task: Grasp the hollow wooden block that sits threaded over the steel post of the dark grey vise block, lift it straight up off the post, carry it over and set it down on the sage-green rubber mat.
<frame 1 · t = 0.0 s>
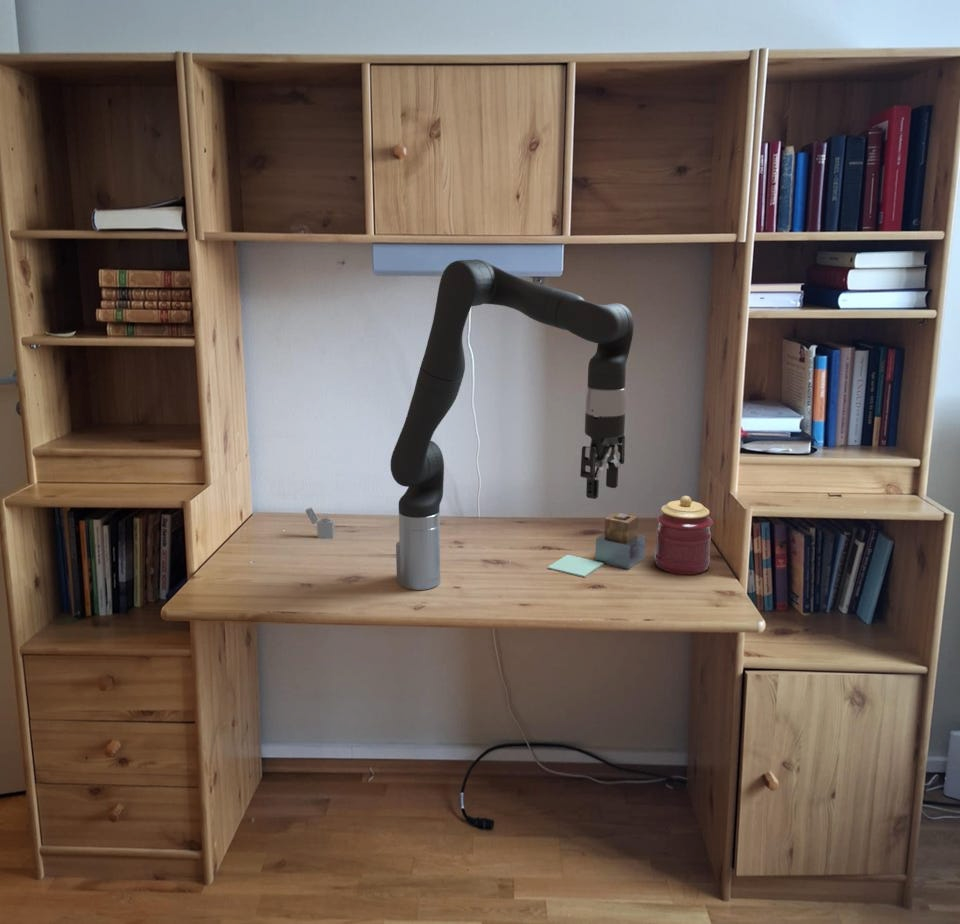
hand: (602, 492, 170), 29 cm above the table, fingers open, 8 cm apart
vise block: (619, 559, 216), on the table
mat: (575, 566, 212), on the table
lighter: (320, 537, 232), on the table
canister: (681, 566, 212), on the table
hollow wooden block: (621, 536, 214), point 6 cm above the table, touching vise block
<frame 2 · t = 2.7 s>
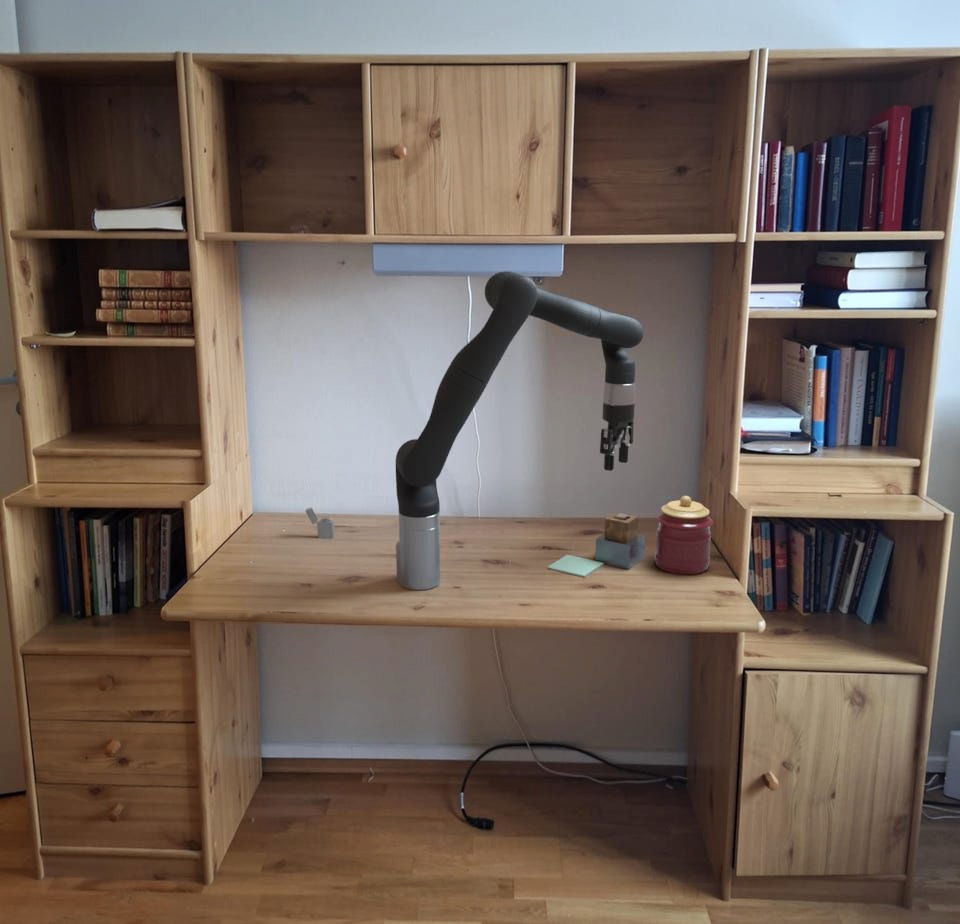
hand: (616, 466, 214), 23 cm above the table, fingers open, 8 cm apart
nothing on the table moved.
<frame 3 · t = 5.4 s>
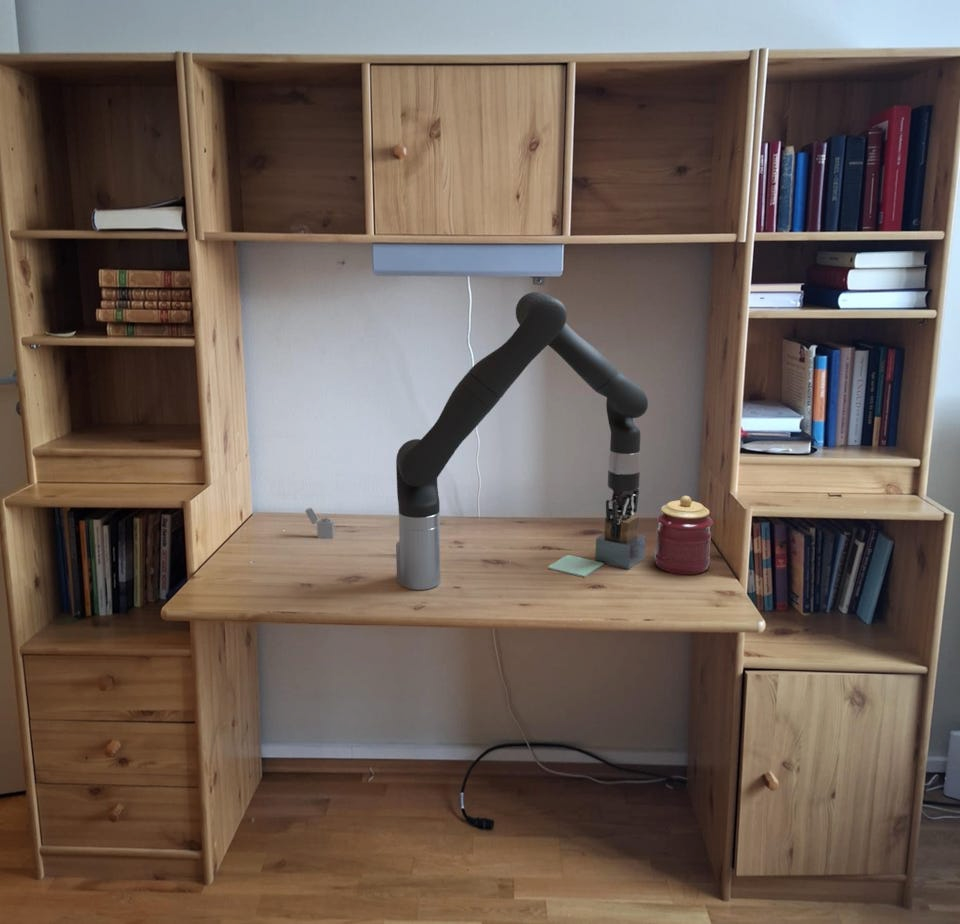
hand: (621, 534, 214), 7 cm above the table, fingers closed on hollow wooden block, 6 cm apart
hollow wooden block: (621, 536, 214), point 6 cm above the table, touching gripper, vise block
everything else where it was.
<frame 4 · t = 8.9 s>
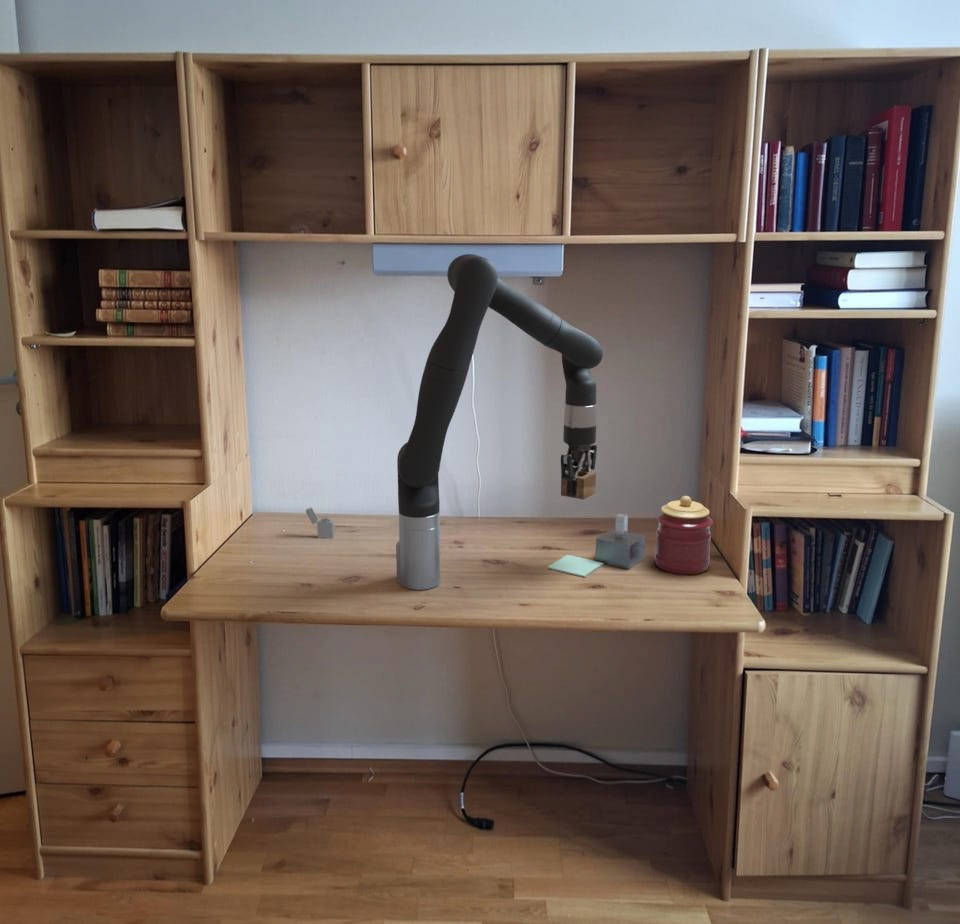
hand: (577, 492, 207), 19 cm above the table, fingers closed on hollow wooden block, 6 cm apart
hollow wooden block: (578, 494, 207), point 18 cm above the table, touching gripper
everything else where it was.
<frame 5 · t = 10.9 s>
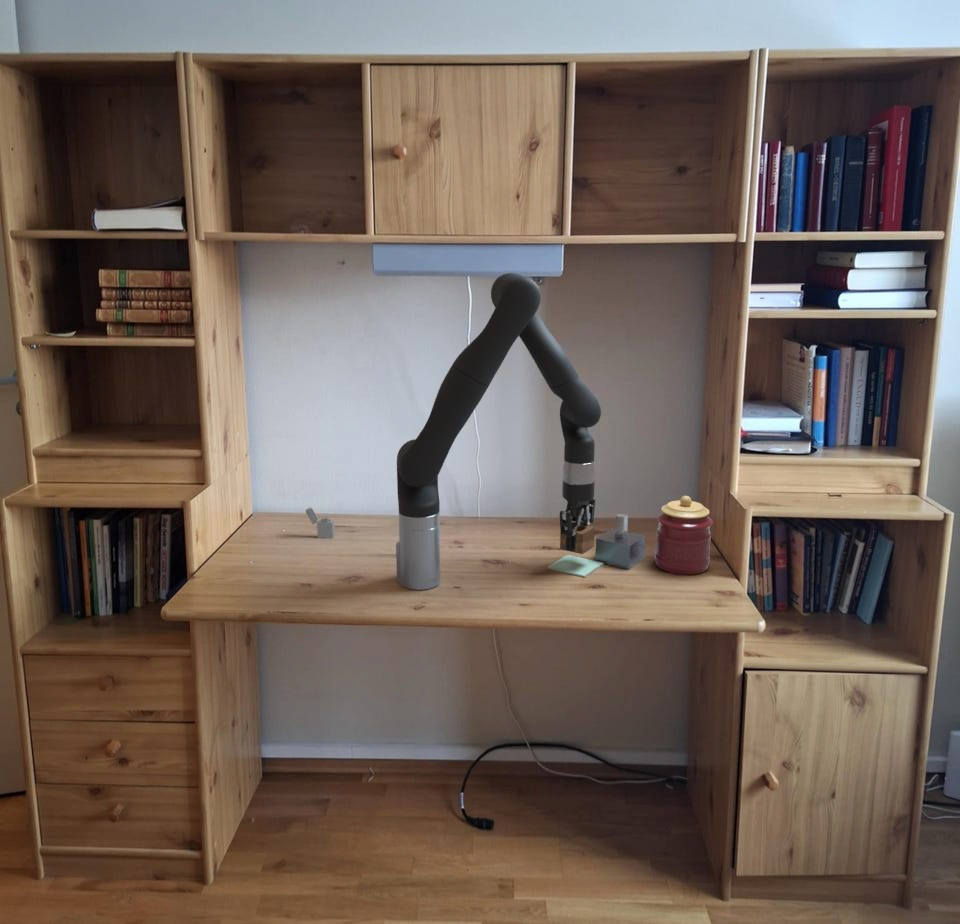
hand: (576, 545, 210), 5 cm above the table, fingers closed on hollow wooden block, 6 cm apart
hollow wooden block: (577, 548, 210), point 5 cm above the table, touching gripper
everything else where it was.
when the fingers open (3 cm above the table, at t = 12.6 s): hollow wooden block drops 2 cm, resting on mat.
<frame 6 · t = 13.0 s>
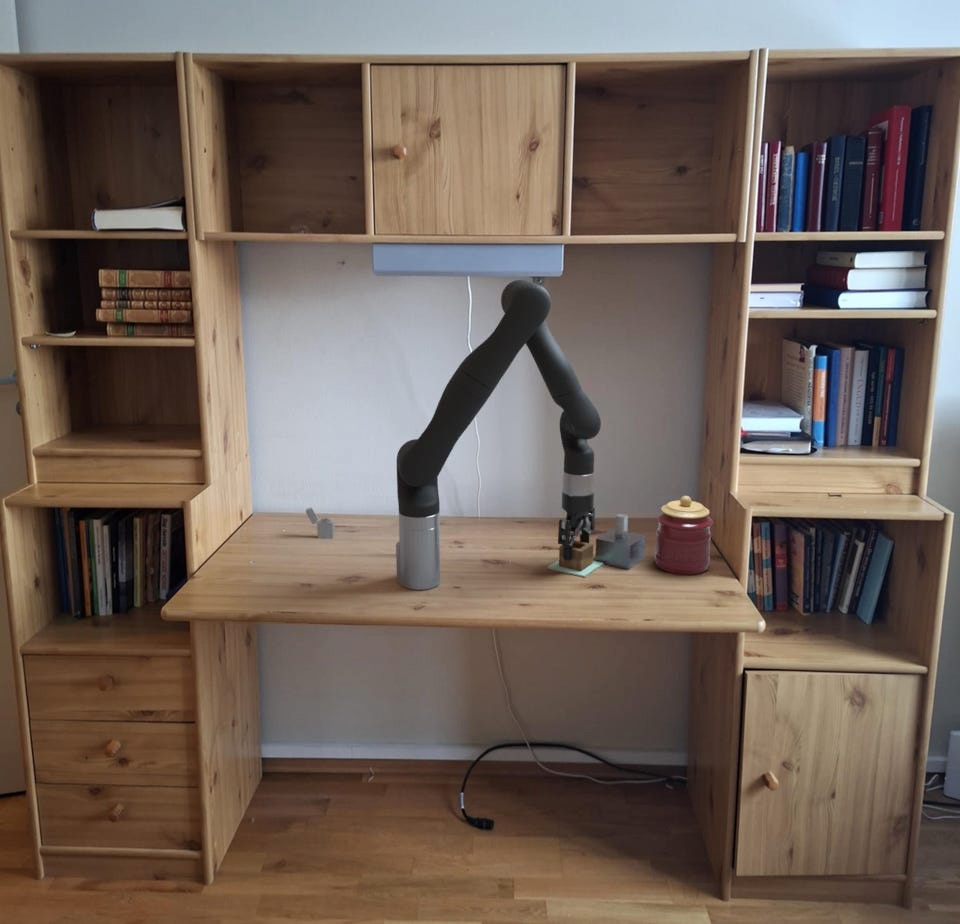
hand: (576, 554, 211), 3 cm above the table, fingers open, 8 cm apart
hollow wooden block: (575, 564, 212), resting on mat
everything else where it was.
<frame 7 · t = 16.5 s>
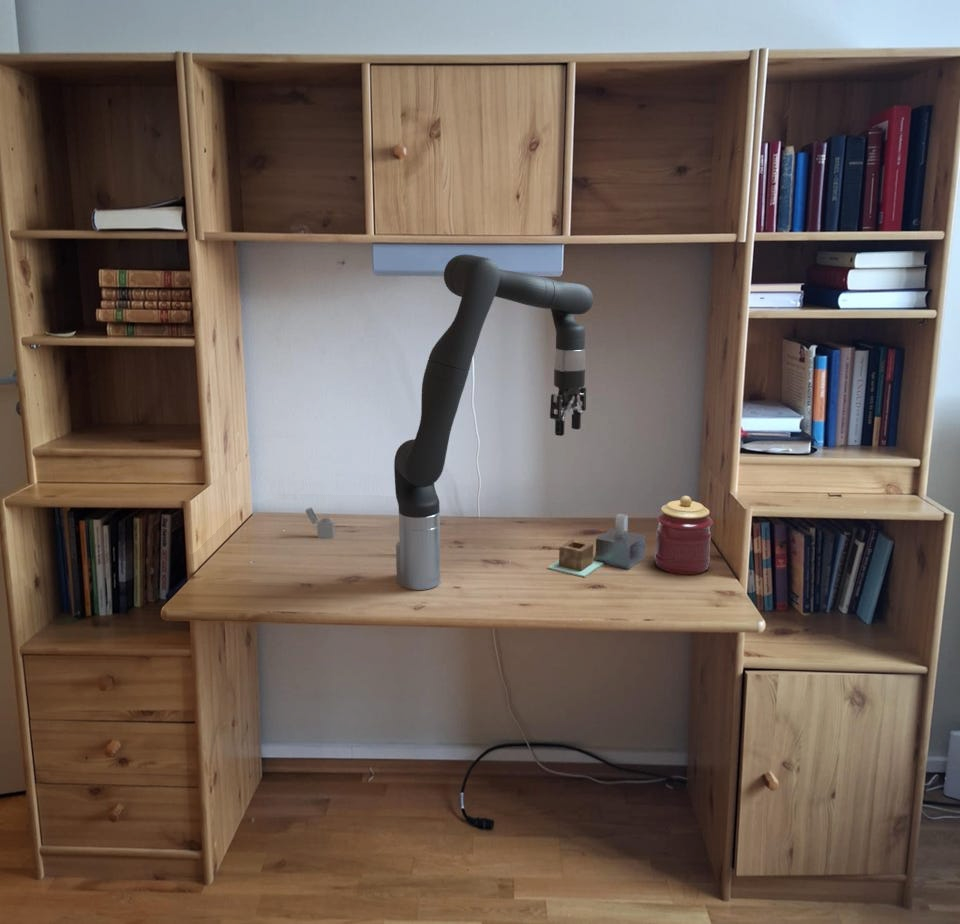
hand: (567, 432, 218), 30 cm above the table, fingers open, 8 cm apart
nothing on the table moved.
at the end: hollow wooden block inside the target area on the mat (0.0 cm from its centre), point 0.4 cm above the mat's base; hollow wooden block touching mat; the gripper is holding nothing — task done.
